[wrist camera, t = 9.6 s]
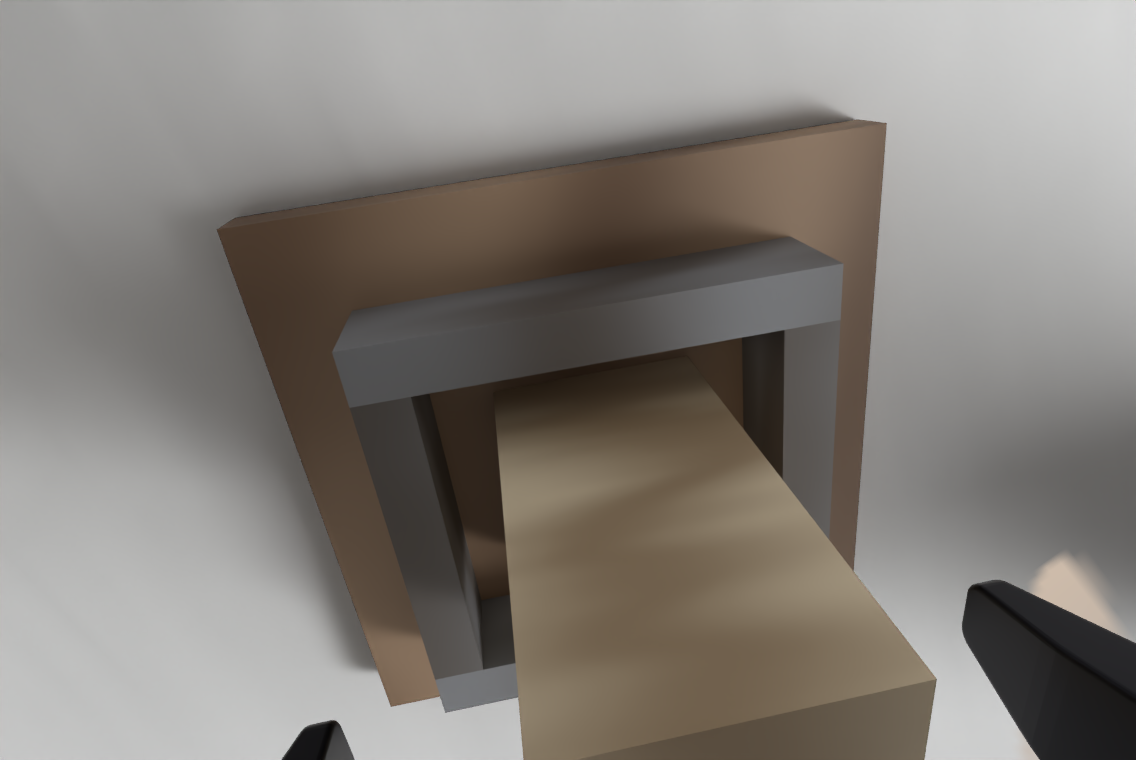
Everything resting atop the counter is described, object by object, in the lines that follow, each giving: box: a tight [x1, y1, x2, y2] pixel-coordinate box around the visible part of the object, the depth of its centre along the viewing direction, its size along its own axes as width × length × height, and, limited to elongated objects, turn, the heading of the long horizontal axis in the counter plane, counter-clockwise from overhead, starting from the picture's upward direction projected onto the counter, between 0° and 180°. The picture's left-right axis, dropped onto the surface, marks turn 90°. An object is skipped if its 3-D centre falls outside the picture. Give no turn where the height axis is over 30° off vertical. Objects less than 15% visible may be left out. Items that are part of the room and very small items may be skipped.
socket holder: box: [217, 120, 887, 713], centre depth 14 cm, size 12×12×3 cm
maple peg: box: [493, 356, 937, 760], centre depth 11 cm, size 4×4×8 cm
